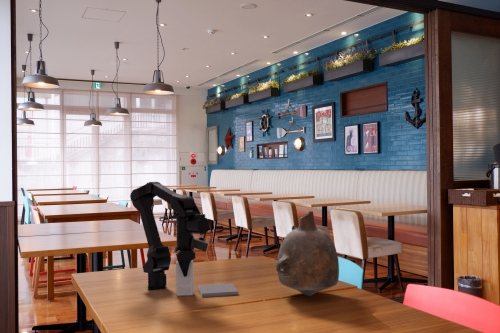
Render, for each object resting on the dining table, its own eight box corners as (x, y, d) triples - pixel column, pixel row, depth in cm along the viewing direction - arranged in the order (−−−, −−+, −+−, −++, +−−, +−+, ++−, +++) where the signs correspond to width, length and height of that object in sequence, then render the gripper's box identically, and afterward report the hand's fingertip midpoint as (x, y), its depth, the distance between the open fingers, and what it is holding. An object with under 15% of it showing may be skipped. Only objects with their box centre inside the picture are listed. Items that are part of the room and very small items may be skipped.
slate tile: (201, 297, 173) (201, 293, 173) (198, 288, 186) (198, 285, 186) (238, 294, 176) (238, 291, 176) (232, 286, 188) (232, 283, 188)
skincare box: (194, 292, 180) (193, 259, 180) (193, 295, 175) (192, 261, 175) (177, 292, 179) (176, 259, 179) (176, 295, 175) (175, 262, 175)
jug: (295, 285, 189) (294, 206, 189) (349, 291, 178) (348, 208, 178) (264, 300, 168) (263, 212, 168) (323, 308, 157) (322, 214, 157)
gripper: (209, 234, 170) (210, 279, 170) (204, 228, 188) (204, 269, 188) (177, 235, 168) (177, 281, 168) (174, 229, 186) (175, 270, 186)
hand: (184, 275), depth 177 cm, fingers closed on skincare box, 4 cm apart
